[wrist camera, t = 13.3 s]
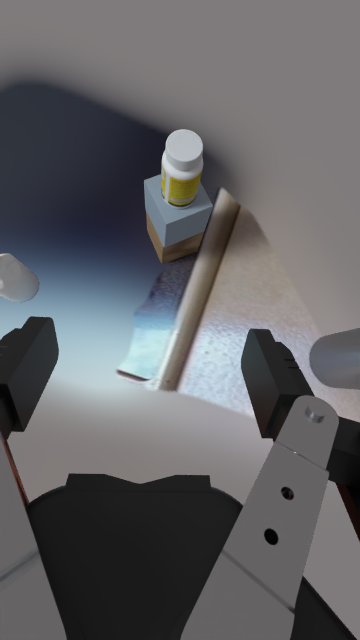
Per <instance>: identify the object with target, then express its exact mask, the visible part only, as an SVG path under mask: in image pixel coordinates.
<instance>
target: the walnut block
mask: <svg viewBox="0 0 360 640" xmlns="http://www.w3.org/2000/svg"><path fill="white" fill-rule="evenodd" d="M146 213H147V211H146ZM147 230H148V233H149V235H150V238H151V240H152V242H153V245H154V247H155V249H156V252H157V254H158V257H159V259H160V261H161V264H164V263H167V262H170V261H172V260H175V259H178V258H181V257H183V256H186V255H189V254H192V253H194V252H197V251H198V248H199V245H200V242H201V240H202V237H203V234H204V232H202V233H199V234H197V235H194V236H192V237H190V238H187V239H185V240H182V241H180V242H177V243H175V244H172V245H170V246H168V247H165V248H164V246H163V244H162V242H161V240H160V238H159V236H158V234H157V232H156V230H155V228H154V226H153V224H152V222H151V220H150V217H149V215H148V213H147Z"/></svg>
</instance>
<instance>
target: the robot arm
mask: <svg viewBox="0 0 360 640" xmlns="http://www.w3.org/2000/svg"><path fill="white" fill-rule="evenodd" d="M58 354H59V349H58V343H57V338H56V332H55V327H54V322H53V319H52V318H50V317H29V319H28V320H27V321H26V323H25V324H24V325H23V327H22V328H21V329H18V328H15V329H14V330H12V331H11V332H9V333H8V334H6V335H5V336H3V338H2V339H1V340H0V640H357V639H356V638H355V637H354V635H353V634H352V633H351V632H350V631H349V629H348V628H347V627H346V626H345V625H344V624H343V622H342V621H341V620H340V619H339V618H338V616H337V615H336V614H335V613H334V612H333V611H332V609H331V608H330V607H329V606H328V605H327V603H326V602H325V601H324V600H323V599H322V597H321V596H320V595H319V594H318V593H317V592H316V590H315V589H314V588H313V587H312V586H311V584H310V583H309V582H308V581H307V580H306V579H305V577H304V576H303V572H304V568H305V564H306V560H307V557H308V553H309V549H310V545H311V542H312V538H313V534H314V530H315V527H316V523H317V519H318V515H319V512H320V508H321V504H322V500H323V497H324V493H325V489H326V485H327V481H328V480H330V481H333V482H335V483H336V485H337V488H338V490H339V493H340V495H341V497H342V500H343V502H344V505H345V507H346V510H347V512H348V514H349V517H350V519H351V522H352V524H353V526H354V529H355V532H356V534H357V536H358V539H359V541H360V423H359V422H356V421H352V420H349V419H346V418H342V417H339V416H338V415H337V413H336V411H335V410H334V409H333V408H332V407H331V406H330V405H329V404H328V403H327V402H325V401H324V400H322V399H320V398H317V397H315V396H314V394H313V392H312V390H311V388H310V386H309V384H308V383H307V381H306V379H305V377H304V375H303V373H302V372H301V370H300V369H299V366H298V364H297V362H296V361H295V359H294V357H293V355H292V353H291V351H290V350H289V349H288V348H287V347H286V346H285V345H284V344H283V343H281V342H275V340H274V338H273V336H272V334H271V332H270V330H268V329H250V330H249V332H248V335H247V339H246V343H245V346H244V350H243V354H242V358H241V369H242V373H243V377H244V380H245V383H246V387H247V390H248V393H249V397H250V400H251V404H252V407H253V410H254V414H255V417H256V420H257V424H258V427H259V430H260V433H261V437H262V438H272V439H273V442H274V444H273V446H272V448H271V450H270V453H269V455H268V457H267V459H266V461H265V463H264V465H263V467H262V469H261V471H260V473H259V475H258V477H257V479H256V481H255V483H254V486H253V488H252V490H251V492H250V494H249V496H248V498H247V500H246V502H245V504H244V506H243V505H242V504H241V503H240V502H238V501H237V500H236V499H235V498H233V497H232V496H231V495H229V494H227V493H225V492H224V491H221V490H219V489H217V488H214V487H211V485H210V476H209V475H174V476H170V477H166V478H162V479H158V480H155V481H151V482H147V483H143V484H137V483H133V482H130V481H126V480H123V479H120V478H116V477H113V476H109V475H105V474H69V475H68V479H67V482H66V485H65V486H61V487H58V488H56V489H53V490H50V491H49V492H46V493H45V494H42V495H41V496H39V497H38V498H36V499H35V500H33V501H32V502H30V503H29V500H28V498H27V495H26V493H25V490H24V487H23V484H22V482H21V479H20V476H19V473H18V470H17V467H16V465H15V462H14V459H13V456H12V453H11V450H10V448H9V445H8V442H7V439H8V437H9V435H10V433H11V431H14V432H24V430H25V429H26V427H27V424H28V422H29V420H30V418H31V416H32V414H33V412H34V410H35V407H36V405H37V403H38V401H39V399H40V397H41V394H42V393H43V391H44V389H45V386H46V384H47V382H48V380H49V378H50V376H51V374H52V371H53V369H54V367H55V365H56V363H57V360H58ZM310 366H311V369H312V371H313V373H314V375H315V376H316V377H317V378H318V380H319V381H321V382H322V383H323V384H325V385H327V386H329V387H334V388H346V389H359V390H360V328H357V329H353V330H349V331H344V332H340V333H335V334H331V335H328V336H324V337H322V338H320V339H319V340H317V341H316V342H315V344H314V345H313V347H312V349H311V352H310Z"/></svg>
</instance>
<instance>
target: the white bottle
mask: <svg viewBox="0 0 360 640" xmlns="http://www.w3.org/2000/svg"><path fill="white" fill-rule="evenodd" d="M38 289H39V281H38V278H37V277H36V275H35V274H33V273H32V272H31V271H29V270H28V269H27V268H26V267H25V266H24V265H22V264H21V263H20V262H19V261H18V260H17V259H16V258H15V257H13V256H12V255H11V254H0V296H1V297H4V298H6V299H8V300H10V301H13V302H25V301H28V300H30V299H32V298H33V297H34V296H35V295H36V293H37V292H38Z"/></svg>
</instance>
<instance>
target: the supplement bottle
mask: <svg viewBox="0 0 360 640" xmlns="http://www.w3.org/2000/svg"><path fill="white" fill-rule="evenodd" d="M202 151H203V143H202V141H201V139H200V137H199V136H198V135H197V134H196V133H194V132H192V131H190V130H184V129H182V130H177V131H174V132H173V133H172V134H170V136H169V137H168V139H167V141H166V149H165V152H164V154H163V157H162V176H161V195H162V198H163V200H164V201H165V203H166V204H168V205H169V206H171V207H173V208H175V209H184V208H187V207H189V206H190V205H191V204H192V203H193V202H194V201H195V198H196V196H197V191H198V186H199V182H200V177H201V172H202V168H203V158H202Z"/></svg>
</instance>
